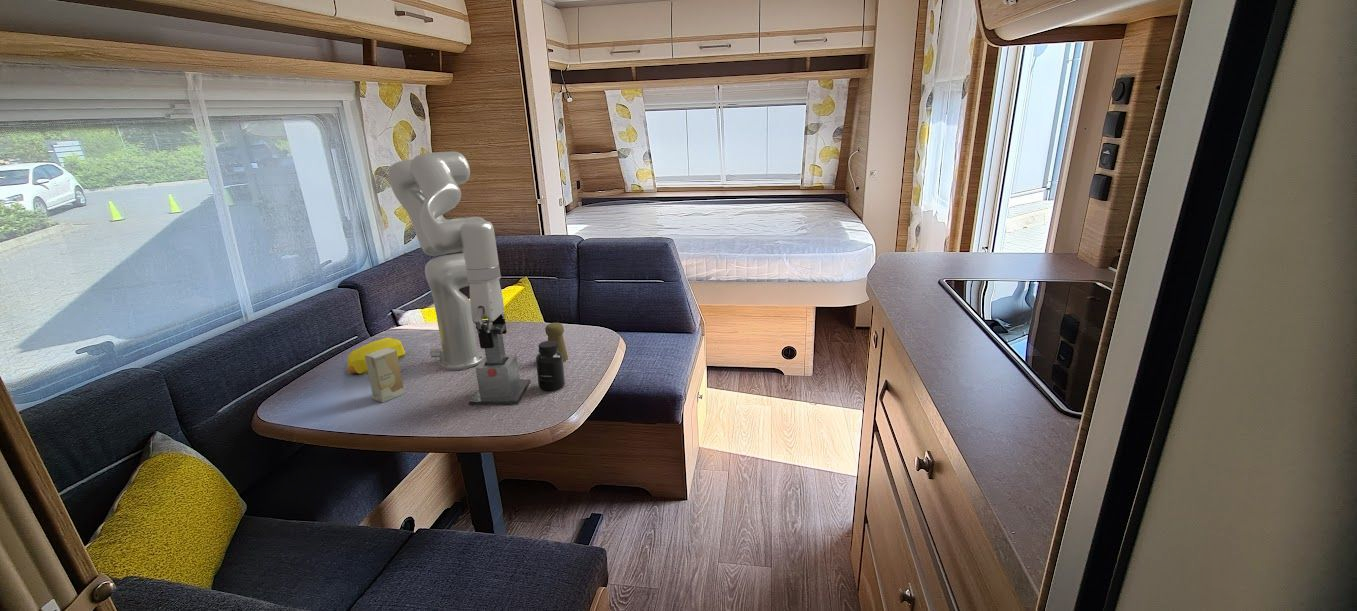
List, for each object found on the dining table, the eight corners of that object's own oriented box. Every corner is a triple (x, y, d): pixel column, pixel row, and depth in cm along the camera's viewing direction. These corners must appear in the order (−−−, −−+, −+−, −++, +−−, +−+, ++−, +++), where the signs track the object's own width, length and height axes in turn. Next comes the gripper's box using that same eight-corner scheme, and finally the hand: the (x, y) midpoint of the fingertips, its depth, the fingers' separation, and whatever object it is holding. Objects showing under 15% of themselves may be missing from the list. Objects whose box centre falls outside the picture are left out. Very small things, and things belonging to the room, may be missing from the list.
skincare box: (382, 403, 143) (372, 358, 139) (372, 399, 145) (362, 355, 141) (406, 393, 148) (397, 349, 144) (396, 389, 150) (387, 346, 147)
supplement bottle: (542, 394, 145) (537, 351, 141) (536, 384, 150) (530, 342, 147) (569, 388, 148) (564, 345, 144) (561, 378, 153) (556, 337, 150)
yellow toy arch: (341, 374, 161) (358, 379, 158) (335, 353, 159) (353, 357, 156) (395, 351, 176) (413, 355, 173) (391, 331, 174) (409, 334, 171)
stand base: (469, 405, 140) (463, 372, 138) (485, 383, 152) (481, 352, 149) (517, 404, 140) (513, 370, 137) (530, 382, 152) (526, 351, 149)
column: (487, 391, 144) (477, 330, 139) (491, 385, 147) (482, 324, 142) (509, 391, 144) (500, 329, 138) (513, 384, 147) (505, 324, 142)
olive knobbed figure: (563, 364, 162) (559, 328, 159) (543, 363, 163) (539, 327, 160) (571, 355, 168) (567, 320, 164) (552, 354, 169) (548, 320, 166)
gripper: (480, 265, 144) (490, 329, 149) (454, 283, 128) (466, 354, 133) (510, 264, 144) (519, 328, 149) (487, 282, 127) (498, 353, 133)
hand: (494, 340), depth 141 cm, fingers open, 9 cm apart
